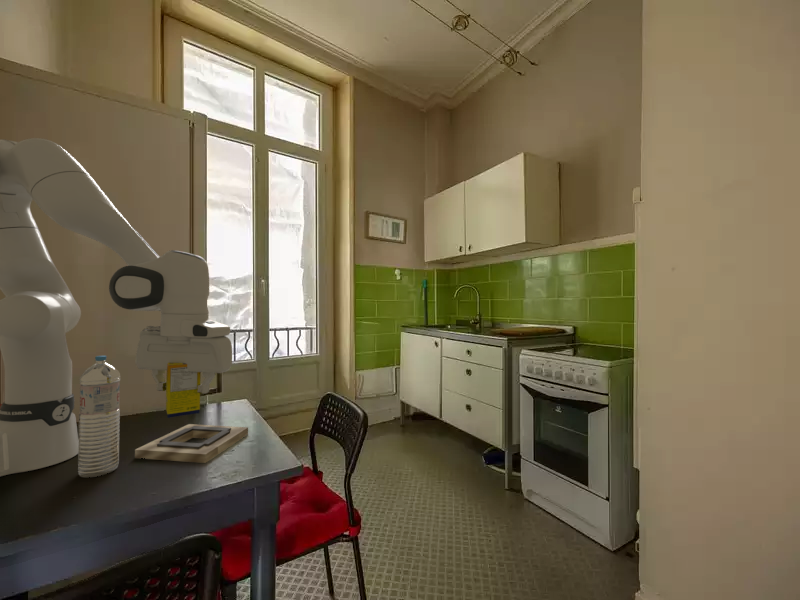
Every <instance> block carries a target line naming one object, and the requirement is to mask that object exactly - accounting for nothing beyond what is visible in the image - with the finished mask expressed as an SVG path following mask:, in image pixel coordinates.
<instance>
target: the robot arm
mask: <svg viewBox="0 0 800 600" xmlns="http://www.w3.org/2000/svg"><path fill="white" fill-rule="evenodd" d="M33 201H34V202H35V204H36V205H37V206H38V207H39V209H41V211H42V212H43V213H44V214H45V215H46V216H47V217H49V218H50V219H51V220H52V221H53V222H55V223H56V224H57V225H59V226H61V227H62V228H64V229H66V230H69V231H71V232H73V233H77V234H79V235H82V236H84V237H87V238H89V239H91V240H94V241H96V242H99V244H102V245H104V246H106V247H108V248H109V249H110V250H112V251H113V252H115V254H117V255H118V256H119V257H120V258H121V259H122V260H123V261H124V263H125V264H126V265H125V266H122V267H120V268H118V269H117V270H116V271H115V272H114V273H113V275H112V276H111V278H110V280H109V284H108V291H109V295H110V298H111V299H112V301H113V302H114V304H116V305H117V306H118V307H119V308H122V309H125V310H129V311H135V312H138V311H139V312H141V311H142V312H155V311H159V312H160V326H158V325H157V326H154V325H147V326H146V327H145V328H143V329H142V330H141V331H140V333H139V340H138V344H137V347H136V348H137V349H136V353H135V354H136V355H135V366H136V367H137V368H138V369H139V370H149V371H151V376H152V378H153V380H154V381H155V383H156V391H157V392H166V378H165V375H164V374H166V371H167V364H168V363H186V364H187V369H188V371H189V372H201V373H202V378H203V379H204V380H203V381H202V382H201V383H200V385H198V391H197V392H198V393H200V394H208V393H209V392H210V384H211V383H212V381H213V379H214V378H215V376H216V374H222V373H225V372H228V371H229V370H230V369H231V367H232V366H233V346H232V341H231V339H230V338H229V337H228V336H229V335H230V334H231V327H230V326H229V325H227V324H225V323H222V322H219V321H216V320H214V319H211V318H209V314H210V312H209V308H208V299H209V296H210V271H209V265H208V263H207V260H205V258H204V257H202V256H200V255H198V254H195V253H190V252H186V251H181V250H173V249H172V250H167V251H166V252H165V253H163V254H161V256H160V255H159V254H158V253H157V252H156V250H154V249H153V248H152V246H151V245H150V244H149V243H148V242H147V241H146V240H145V239H144V237H143V236H142V235H141V234H140V233H139V232H138V231H137V230H136V229H135V228H134V227H133V226H132V225H131V223H130V222H129V221H128V220H127V218H125V217H124V215H123V214H122V212H120V210H119V209H118V208H117V207H116V206H115V205H114V203H113V202H112V201H111V200H110V198H109V197H108V196H107V194H106V193H105V192H104V190H102V188H101V187H100V186H99V184H98V183H97V182H96V181H95V179H94V177H92V176H91V174H90V173H89V172H88V171H87V170H86V168H84V166H83V165H82V164H81V163H80V162H79V161H78V160H77V159H76V158H75V157H74V156H72V154H71V153H69V152H68V151H67V150H66V149H65V148H64V147H62V145H60V144H58V143H56V142H54V141H52V140H49V139H47V138H46V139H45V138H40V137H39V138H37V137H33V138H27V139H23V140H20V141H14V140H10V139H0V291H1V293H3V295H4V296H5V297H3V298H1V299H0V353H1V356H2V360H3V366H4V402H2V403H0V477H3V476H6V475H11V474H18V473H25V472H28V471H29V472H30V471H34V470H38V469H43V468H46V467H49V466H53V465H57V464H59V463H63V462H64V461H68V460H70V459H73V457H75V456H77V455H78V449H79V448H78V445H79V443H78V442H79V433H78V426H77V425H78V424H77V418H76V414H75V413H74V412H73V410H74V409H75V402H76V399H75V394H74V393H73V360H72V358H71V357H70V353H69V348H68V343H67V338H66V333H69V332H70V331H71V330H73V329H74V328H75V327H76V326H77V325H78V323H79V321H80V319H81V316H82V310H81V308H80V305H79V304H78V303H77V301H76V300H75V298H74V296H73V293H72V292H71V290H70V288H69V287H68V284H67V282H66V281H65V280H64V278H63V276H62V275H61V273H60V272H59V269H57V267H56V265H55V263H54V261H53V259H52V257H51V255H50V252H49V249H48V247H47V246H46V243H45V241H44V238H43V236H42V234H41V231H40V228H39V227H38V224H37V223H36V219H35V218H34V216H33V214H32V210H31V203H32V202H33Z"/></svg>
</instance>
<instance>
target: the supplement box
mask: <svg viewBox="0 0 800 600" xmlns="http://www.w3.org/2000/svg"><path fill="white" fill-rule="evenodd" d="M201 373H202V372H189V371H188V369H187V364H186V363H168V364H167V370H166V378H165V380H166V391H165V412H166V417H167V418H169V419H170V418H174V417H181V416H189V415H195V414H200V413H201V393H198V392H197V391H198V385H200V384H201V377H202V374H201Z"/></svg>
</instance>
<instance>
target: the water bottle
mask: <svg viewBox="0 0 800 600" xmlns="http://www.w3.org/2000/svg"><path fill="white" fill-rule="evenodd" d="M107 358H108V357H107V355H96V356H95V358H94V359H95V360H94V361H95V363H94V364H92V365H91V366H88V368H86V369H85V371H84V372H83V373H82V374H81V375H80V376H79V385H80V388H79V389H80V390H79V396H80V397H79V414H78V440H79V442H78V443H79V445H78V448H79V449H78V454H77V455H78V458H77V465H78V467H77V470H78V471H77V472H78V475H79V477H81V478H84V479H86V478H88V479H89V477H90V478H96V477H97V476H98V477H101V475H102V476H104V475H108V474H109V473H112V472H113V471H116V469H118V467H119V463H120V424H121V423H120V419H121V416H120V414H121V413H120V412H121V408H120V384H121V383H120V382H121V373H120V371H119V370H118V369H117V368H116V366H113V365H112V364H110V363H108V362H106V361H107ZM107 473H108V474H107Z"/></svg>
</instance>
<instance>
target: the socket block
mask: <svg viewBox="0 0 800 600" xmlns="http://www.w3.org/2000/svg"><path fill="white" fill-rule="evenodd" d="M246 435H247V436H248V435H249V427H248V426H247V427H246V426H232V425H231V426H229V425H228V426H227V425H214V424H213V425H212V424H211V425H209V424H196V423H195V424H193V423H188V424H186V425H184V426H181V427H179V428H178V429H175V430H173V431H171V432H170V433H169V432H168V433H167V434H165V435H163V436H161V437H159V438H157V439H154V440H152V441H150V442H147V443H146V444H144V445H142V446H139V447H138V448H135V449H134V459H141V458H143V460H161V461H171V462H173V461H174V462H187V463H198V464H199V463H200V464H206V463H208V462H209V461H211V460H212V459H214V458H215V457H217V456H218V455H219V454H220V455H221V453H222V452H224V451H226V450H227V449H229V448H230V447H232V446H234V445H235V444H236V443H238V442H240V441H241V440H242V439H244V438H245V437H247V436H246ZM243 437H244V438H243ZM203 438H205V440H204V441H202V442H199V443H197V442H188V441H189V440H191V439H203ZM206 438H207V439H206ZM240 439H241V440H240ZM144 458H145V459H144Z"/></svg>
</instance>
